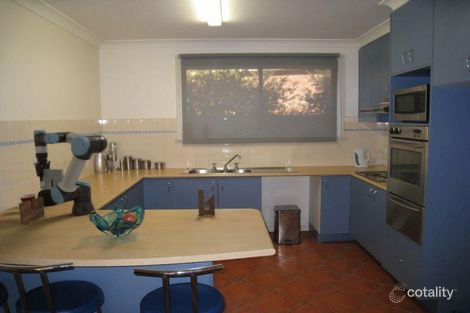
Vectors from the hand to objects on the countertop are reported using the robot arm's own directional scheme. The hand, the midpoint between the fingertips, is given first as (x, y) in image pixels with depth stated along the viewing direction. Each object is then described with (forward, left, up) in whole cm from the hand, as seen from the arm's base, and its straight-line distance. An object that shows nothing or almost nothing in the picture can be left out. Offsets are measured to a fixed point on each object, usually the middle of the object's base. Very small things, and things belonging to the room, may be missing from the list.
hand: (44, 185), depth 250 cm
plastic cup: (+19, -4, -21) cm, 28 cm away
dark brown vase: (+19, -26, -21) cm, 38 cm away
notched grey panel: (-6, 0, -2) cm, 7 cm away
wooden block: (-114, -14, -21) cm, 117 cm away
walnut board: (-4, +17, -20) cm, 27 cm away
